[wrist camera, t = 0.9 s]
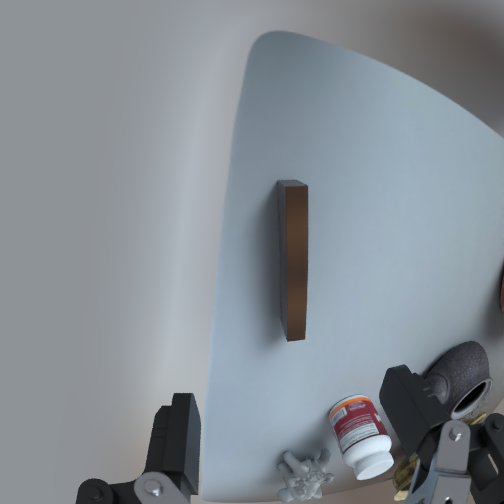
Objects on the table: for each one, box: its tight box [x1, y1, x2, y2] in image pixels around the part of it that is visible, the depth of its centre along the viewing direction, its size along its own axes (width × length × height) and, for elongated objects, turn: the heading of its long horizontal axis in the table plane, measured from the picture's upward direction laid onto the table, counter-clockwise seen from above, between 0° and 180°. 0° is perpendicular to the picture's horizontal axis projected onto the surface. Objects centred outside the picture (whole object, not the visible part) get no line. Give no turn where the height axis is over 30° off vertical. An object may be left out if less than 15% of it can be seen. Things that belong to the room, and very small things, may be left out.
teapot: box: [425, 341, 493, 420], centre depth 30 cm, size 19×15×10 cm
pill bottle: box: [329, 395, 394, 480], centre depth 28 cm, size 6×6×11 cm
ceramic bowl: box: [393, 412, 486, 501], centre depth 37 cm, size 30×24×10 cm
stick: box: [277, 180, 308, 342], centre depth 23 cm, size 13×2×4 cm, turn 3°
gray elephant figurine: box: [277, 448, 334, 503], centre depth 35 cm, size 9×12×8 cm
